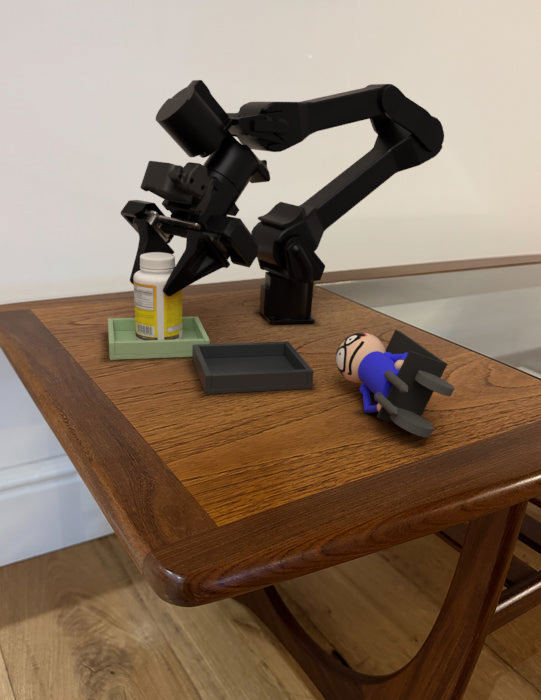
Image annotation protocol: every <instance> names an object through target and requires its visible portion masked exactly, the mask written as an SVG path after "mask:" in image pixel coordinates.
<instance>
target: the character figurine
mask: <svg viewBox="0 0 541 700" xmlns="http://www.w3.org/2000/svg"><path fill="white" fill-rule="evenodd" d="M335 364H336V368H337V370H338V372H339V373H340V374H341V376H342V377H343V378H344V379H346V380H347V381H349V382H352V383H355V384H361V385H360V386H359V389H358V391H359V393H360V394H361V395H362V401H363V412H364V413H365V414H372V413H377V415H376V418H377V419H378V420H383V421H386V422H389V423H393V424H395V425H397V426H398V427H400V428H402V429H403V430H405V431H406V432H409V433H411V434H413V435H416V436H418V437H422V438H430V436H431V435H432V433H433V431H434V429H435V426H434V425H433V423H431V422H429V420H427V419H425V418H424V417H422V416H423V414H424V411H425V410H426V407H428V404H429V401H431V398H432V396H433V394H434V392H435V393H437V394H440V395H442V396H446V397H451V396H452V394H453V393H454V391H455V386H454V385H452V384H451V383H449V382H448V381H446V380H445V379H443V378H442V376H443V374H444V372H445V370H446V368H447V367H448V363H447V362H445V361H444V360H443V359H441V358H440V357H438V356H437V355H435V354H434V353H433V352H431V351H430V350H428V349H426V347H424V346H423V345H421V344H419V343H418V342H417V341H415V340H414V339H412V338H411V337H410V336H408V335H407V334H405V333H404V332H402V331H400V330H398V329H394V332H393V334H392V335H391V338H390V340H389V342H388V344H387V346H386V348H385V345H384V344H383V342H382V341H381V340H380V339H379V338H378V337H377V336H375V335H374V334H372V333H368V332H361V331H360V332H355V333H352V334H350V335H348V336H346V337H345V338H344V339H343V340H342V341H340V343H339V345H338V347H337V349H336V353H335ZM372 394H373V398H374V401H375V402H377V404H372V396H371V395H372Z"/></svg>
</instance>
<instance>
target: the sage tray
mask: <svg viewBox="0 0 541 700" xmlns="http://www.w3.org/2000/svg"><path fill="white" fill-rule="evenodd" d="M182 324H183V334H182V338H181V339H175V340H142V341H138V340H137V338H136V333H135V317H108V318H107V339H108V354H109V355H108V357H109V360H110V361H113V360H114V361H115V360H117V361H118V360H141V359H142V360H143V359H144V360H145V359H146V360H147V359H168V358H191V357H192V349H193V345H195V344H211V340H210V337H209V336H208V334H207V331H206V329H205V328H204V325H203V324H202V322H201V320H200V318H199V316H197V315H196V316H182Z"/></svg>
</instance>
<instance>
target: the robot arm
mask: <svg viewBox="0 0 541 700" xmlns="http://www.w3.org/2000/svg"><path fill="white" fill-rule="evenodd" d="M365 120H369V121H370V125H371V127H372V129H373V132H374V133H375V134H377V136H376V139H375V142H374V145H373V146H372V148H371V149H370V150H369V151H367V152H366V153H364V154H363V156H361V157H360V158H359V159H357V160H356V161H355V162H353V163H352V164H351V165H349V166H348V167H347V168H346V169H345V170H343V171H342V172H341V173H340V174H338V175H337V176H335V178H333V179H332V180H330V181H329V182H328V183H327V184H325V186H323V187H322V188H321V189H319V190H318V191H316V193H314V194H313V195H311V196H310V197H309V198H307V199H306V200H305V201H304V202H303V203H301V204H299V205H296V204H291V203H287V202H284V201H279V202H278V203H276V204H275V205H274V206H273V207H272V208H271V209H270V210H269V211H268V212H267V213H265V214H264V215H260V216H258V217H257V220H258V221H259V222H257V223H256V225H254V226H253V228H252V230H251V232H250V230H249V229H248V227H247V225H245V222H243V220H242V219H241V218H240V217H237V215H238V213H239V212H240V209H239V207H238V205H237V204H236V203H237V202H238V200H239V198H240V197H241V195H242V194H243V192H244V191H245V189H246V188H247V186H248V185H249V183H250V184H259V183H268V182H270V181H271V175H270V171H269V169H268V161H267V160H266V159H259V157H258V156H257V155H256V154H255V152H254V151H253V150H255V151H263V152H271V153H280V152H283V151H285V150H288V149H289V148H292V147H294V146H296V145H298V144H300V143H302V142H303V141H304V140H306V139H307V138H308V137H309V136H311V135H313V134H315V133H316V132H321V131H325V130H329V129H333V128H337V127H341V126H346V125H349V124H353V123H357V122H360V121H361V122H362V121H365ZM155 121H156V122H157V123H158V125H159V126H160V127H161V128H162V129H163V130H164V131H165V132H166V133H167V135H169V136H170V138H171V139H172V140H173V141H174V142H175V143H176V144H177V145H178V147H179V148H180V149H181V150H182V151H183V152H184V153H185V154H186V155H187V157H189V158H196V157H198V156H199V157H200V158H202V159H205V158H207V159H206V160H205V162H204V163H203V164H202V163H199V162H192V161H188V162H186V164H185V165H184V166H183V165H179V164H178V165H177V164H175V163H170V162H165V161H157V160H148V163H147V165H146V168H145V171H144V175H143V178H142V180H141V183H140V187H139V188H140V189H141V190H142V191H144V192H150V193H152V194H153V195H156V196H158V197H159V198H161V199H163V201H162V202H161V205H162V206H163V207H164V209H165V210H166V211H169V213H171V214H170V215H169V216H166V215H165V213H164V212H163V211H162V210H161V209H160V208H159V206H158V205H157V204H156V202H151V201H147V200H139V199H132V200H130V199H129V200H127V202H126V203H125V205H124V206H123V208H122V209H121V210H120V216H122V218H123V219H124V220H125V221H126V222H127V223H128V224H129V225H130V226H131V228H133V230H134V231H135V232H136V233H137V235H138V236H139V238H138V244H137V250H136V255H135V258H134V262H133V265H132V268H131V273H130V277H129V282H130V283H131V284H132V286H134V281H133V277H134V274H135V273H136V272H137V271H139V270H141V269H140V255H142V254H144V253H152V252H161V253H169V254H172V255H175V250H174V249H173V248H172V247H171V246H170V245H169V244H170V243H171V241H173V238H174V237H175V236H176V237H180V238H183V239H186V240H185V241H186V242H185V250H184V251H183V253H182V255H181V256H180V257H179V260H178V261H177V263H176V264H175V268H174V270H173V271H172V273H171V275H170V276H169V278H168V280H167V282H166V284H165V286H164V288H163V292H164V293H165V294H166V295H167V296H171V295H173V294H175V293H177V292H178V291H180V290H182V291H183V289H185V288H187V287H189V286H191V285H192V284H194V283H195V282H198V281H199V280H201V279H202V278H205V277H207V276H209V275H211V274H213V273H215V272H217V271H219V270H221V269H223V268H224V269H228V268H229V267H230V266H231V263H232V264H233V265H237V266H241V267H246V268H248V269H249V268H251V266H252V265H253V263H254V262H255V260H257V262H258V266H259V269H260V270H262V271H265V272H264V282H262V283H260V292H259V310H258V311H259V312H260V313H261V315H262V316H263V317H264V318H265V320H266V321H267V322H268V323H269V324H271V325H272V324H273V325H278V324H280V325H281V324H314V323H315V322H316V319H315V317H313V316H312V308H313V297H314V285H315V282H318V281H319V282H320V281H321V280H322V277H323V274H324V271H325V269H326V265H325V263H324V262H323V260H321V258H320V257H319V256H318V254H317V253H316V251H317V250H318V248H319V247H320V246H319V245H320V243H321V240H322V238H323V235H324V233H325V231H326V230H327V229H329V228H330V227H331V226H332V225H333V224H335V223H336V222H337V221H339V220H340V219H341V218H342V217H343V216H344V215H346V214H347V213H348V212H350V210H352V209H353V208H355V207H356V206H357V205H359V203H361V202H362V201H363V200H364V199H366V198H367V197H368V196H370V195H371V194H372V193H373V192H375V190H377V189H378V188H379V187H381V186H382V185H383V184H384V183H386V182H387V181H388V180H389V179H390V178H392V177H393V176H394V175H395V174H398V173H399V172H403V171H406V170H410V169H412V168H416V167H419V166H421V165H423V164H425V163H426V162H428V161H430V160H432V159H434V158H436V157H437V155H438V154H439V153H440V152H441V151H442V149H443V144H444V141H445V131H444V126H443V125H442V123H441V121H440V120H439V119H438V117H435V116H433V115H431V113H430V112H429V111H428V110H427V109H425V108H424V107H422V106H421V105H419V104H418V103H416V102H415V101H414V100H412V99H410V98H409V97H407V96H406V95H405V94H404V92H402V91H401V89H400V88H398V87H397V86H396V85H394V84H392V83H377V84H375V83H374V84H373V83H371V84H368V85H366V86H365V87H362V88H361V87H360V88H356V89H353V90H348V91H344V92H343V91H342V92H339V93H334V94H330V95H325V96H321V97H315V98H311V99H306V100H302V101H249V102H247V103H244V104H242V105H241V106H240V107H239V110H238V112H226V110H225V109H224V108H223V107H222V106H221V105H220V103H219V102H218V101H217V100H216V98H215V97H214V96H213V94H212V93H211V91H210V89H209V87H208V86H207V84H205V82H204V81H203V80H202V79H194V80H191V82H189V84H188V85H187V86H185V87H184V88H182V89H180V90H179V91H178V92H176V94H174V95H173V96H172V97H171V98H167V99H166V101H164V102H163V104H162V105H161V107H160V108H159V109H158V111H157V113H156V115H155ZM237 139H238V140H237ZM229 258H230V259H229ZM229 260H230V262H231V263H230V262H229Z"/></svg>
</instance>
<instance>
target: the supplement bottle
mask: <svg viewBox="0 0 541 700" xmlns="http://www.w3.org/2000/svg"><path fill="white" fill-rule="evenodd" d="M175 266H176V256H175V254H169V253H161V252H152V253H144V254H142V255H140V269H141V270H139V271H137V272H136V273H135V274H134V277H133V281H134V285H133V304H134V305H133V306H134V318H135V333H136V338H137V340H138V341H142V340H175V339H181V338H182V334H183V324H182V317H183V289H182V290H180V291H178V292H177V293H175V294H173V295H171V296H167V295H166V294H165V293H164V292H163V288H164V286H165V284H166V282H167V280H168V278H169V276H170V275H171V273H172V271H173V270H174V268H175Z"/></svg>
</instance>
